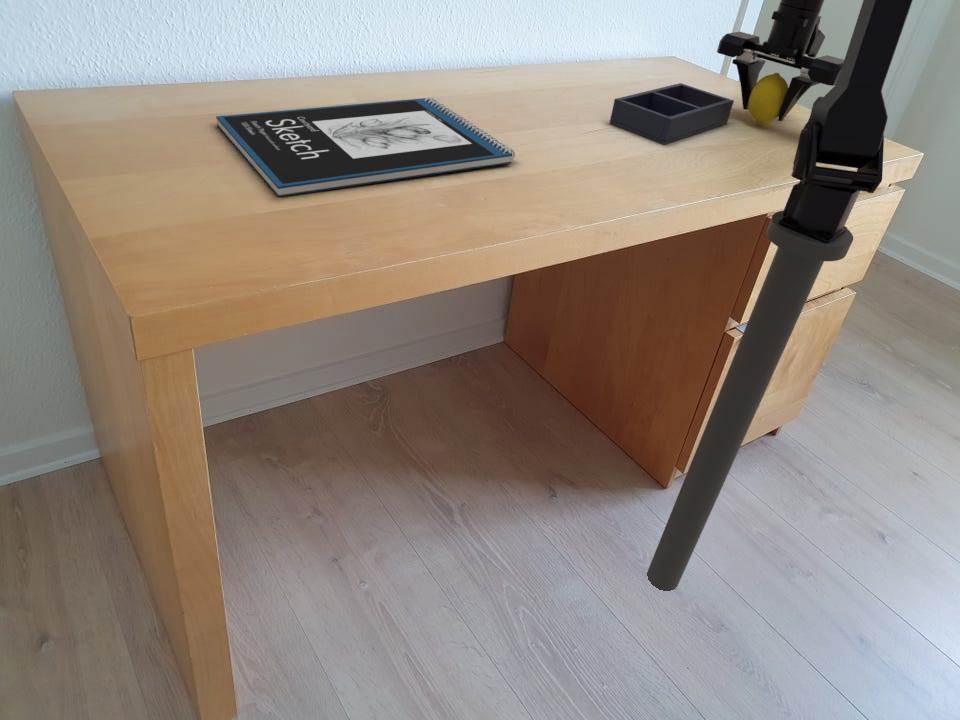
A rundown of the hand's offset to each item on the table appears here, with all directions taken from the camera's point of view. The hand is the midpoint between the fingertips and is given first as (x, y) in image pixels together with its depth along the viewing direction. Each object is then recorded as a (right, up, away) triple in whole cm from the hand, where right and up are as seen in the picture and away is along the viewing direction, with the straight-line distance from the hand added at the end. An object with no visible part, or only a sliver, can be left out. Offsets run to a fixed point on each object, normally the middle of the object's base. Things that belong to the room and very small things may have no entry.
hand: (762, 115), depth 112 cm
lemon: (0, -1, +1) cm, 2 cm away
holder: (-16, -3, -4) cm, 16 cm away
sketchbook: (-58, -12, -25) cm, 64 cm away
